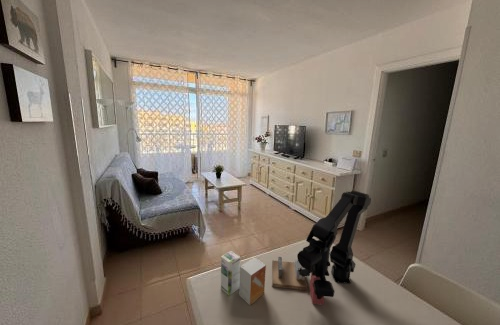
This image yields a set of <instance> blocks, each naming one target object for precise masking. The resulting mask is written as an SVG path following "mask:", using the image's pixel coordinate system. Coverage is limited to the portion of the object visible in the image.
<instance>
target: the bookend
mask: <svg viewBox="0 0 500 325" xmlns="http://www.w3.org/2000/svg"><path fill="white" fill-rule="evenodd" d="M277 258H278V259H277V261H278V278H279V279H282V271H283V268H282V261H283V257H282V256H278V257H277Z"/></svg>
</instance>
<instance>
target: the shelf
mask: <svg viewBox="0 0 500 325" xmlns="http://www.w3.org/2000/svg"><path fill="white" fill-rule="evenodd" d="M271 262H272V264H271V280H272V282H271V283H272V284H271V285H272V286H271V287H273V288H274V287H275V288H281V289H282V288H283V289H293V290H301V291H302V290H304V291H307V290H308V285H307V284H308V282H307V279H306V278H305V280H302V279H299V280H297V279H296V274H295V261H294V262H293V261H284V260H282V268H283V271H282V279H279V278H278V260H274V259H273V260H272V261H271Z"/></svg>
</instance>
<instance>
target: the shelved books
mask: <svg viewBox="0 0 500 325" xmlns="http://www.w3.org/2000/svg"><path fill="white" fill-rule="evenodd" d="M297 260H298V258H295V259H294V263H295V274H296V279H297V280H299V279H302V280H305V279H306V276H305V277H303V276H301V275H299V272H298V269H297V264H296V261H297Z"/></svg>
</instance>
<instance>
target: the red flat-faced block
mask: <svg viewBox="0 0 500 325" xmlns="http://www.w3.org/2000/svg"><path fill="white" fill-rule="evenodd" d="M315 280H319V278H318V277H315V276H313V275H312V272H311V273H310V283H309V291H308V292H309V296H310V299H311V304H313V305H314V304H315V305H321V306H323V305H324V301H325V296H323V297H322V298H321V299H317V295H316V294H315V291H314V288H313V284H312V283H314V281H315Z"/></svg>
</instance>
